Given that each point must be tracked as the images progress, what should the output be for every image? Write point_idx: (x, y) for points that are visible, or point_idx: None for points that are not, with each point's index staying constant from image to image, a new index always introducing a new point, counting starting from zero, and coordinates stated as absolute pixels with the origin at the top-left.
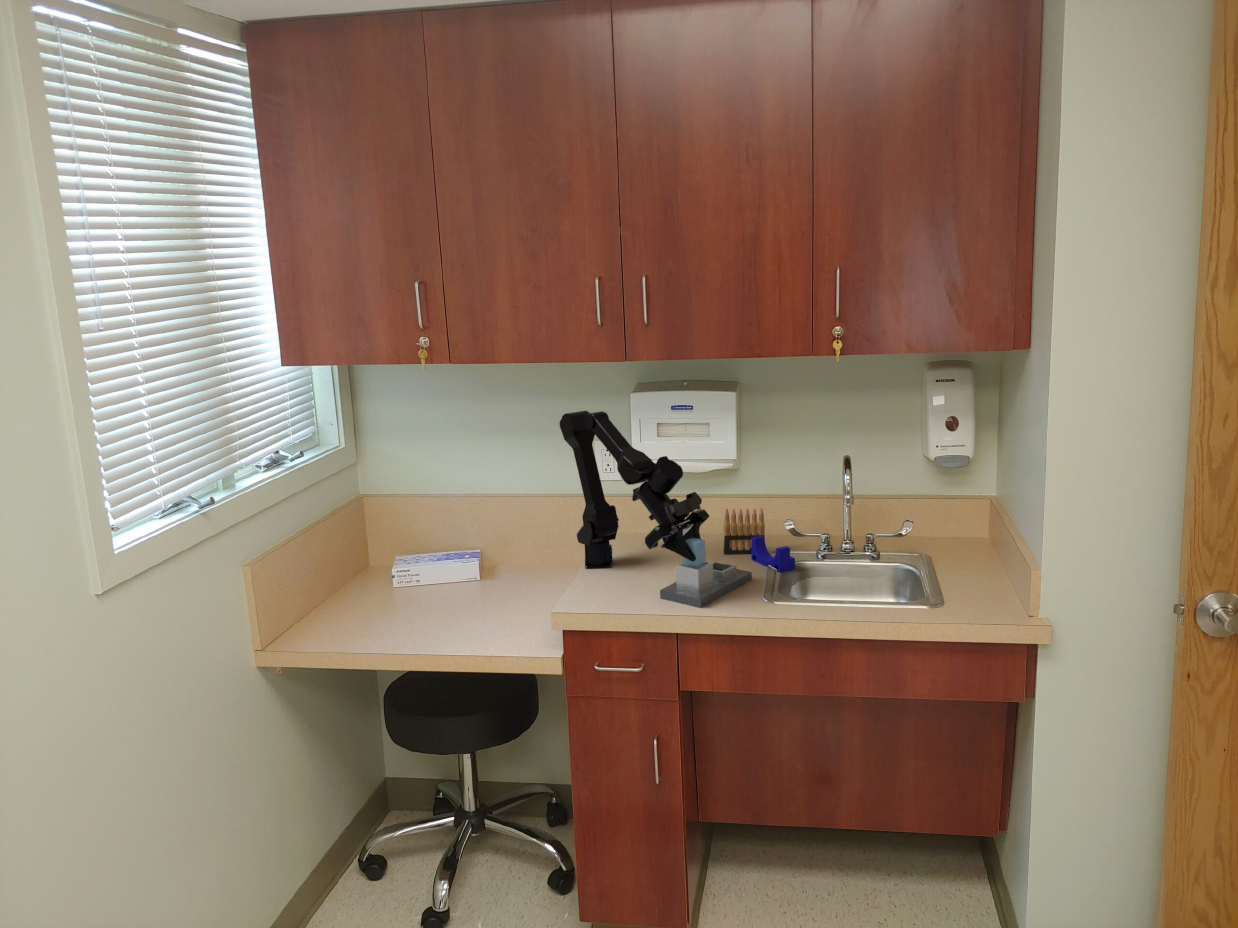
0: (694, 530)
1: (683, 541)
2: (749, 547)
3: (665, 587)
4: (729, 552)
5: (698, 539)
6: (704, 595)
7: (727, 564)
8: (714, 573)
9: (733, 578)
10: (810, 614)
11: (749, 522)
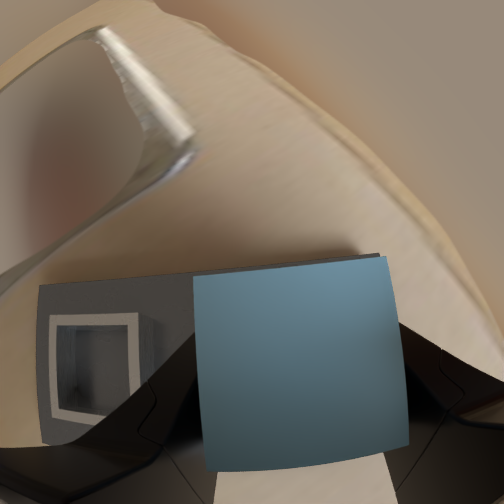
0: (135, 482)
1: (467, 385)
2: None
3: None
4: None
5: (227, 355)
6: None
7: (53, 352)
8: (144, 357)
9: (112, 299)
10: (212, 64)
11: None
